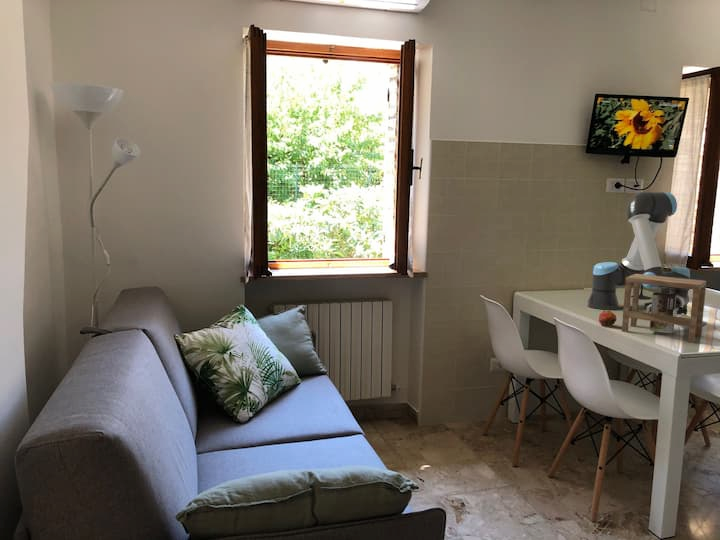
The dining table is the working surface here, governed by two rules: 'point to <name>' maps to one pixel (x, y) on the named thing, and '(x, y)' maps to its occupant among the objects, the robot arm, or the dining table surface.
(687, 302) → the robot arm
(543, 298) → the dining table surface
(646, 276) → the walnut table
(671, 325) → the coffee box
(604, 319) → the pomegranate
